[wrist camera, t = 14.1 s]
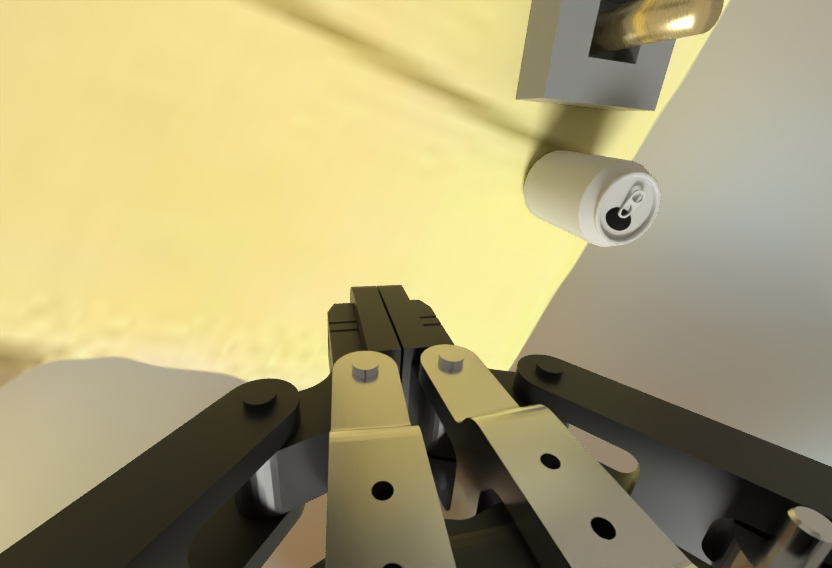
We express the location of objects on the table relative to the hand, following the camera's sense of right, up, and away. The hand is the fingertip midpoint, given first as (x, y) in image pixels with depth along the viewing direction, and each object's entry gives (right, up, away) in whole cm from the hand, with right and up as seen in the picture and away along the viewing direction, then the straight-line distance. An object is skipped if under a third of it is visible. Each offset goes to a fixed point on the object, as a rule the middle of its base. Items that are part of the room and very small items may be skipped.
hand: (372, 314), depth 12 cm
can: (+16, +12, +31) cm, 37 cm away
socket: (+17, +25, +26) cm, 39 cm away
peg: (+18, +24, +24) cm, 38 cm away
